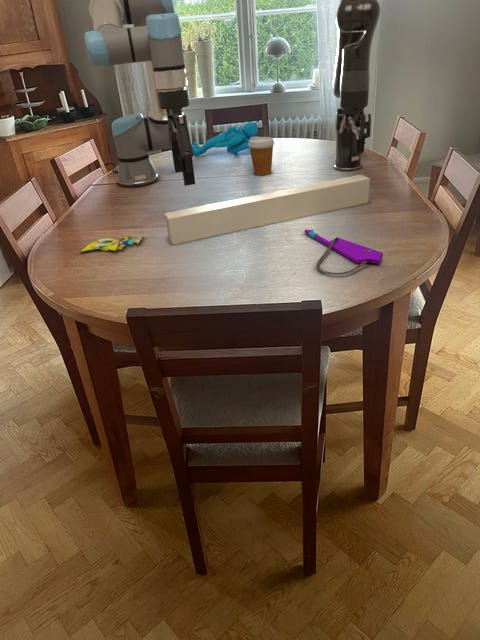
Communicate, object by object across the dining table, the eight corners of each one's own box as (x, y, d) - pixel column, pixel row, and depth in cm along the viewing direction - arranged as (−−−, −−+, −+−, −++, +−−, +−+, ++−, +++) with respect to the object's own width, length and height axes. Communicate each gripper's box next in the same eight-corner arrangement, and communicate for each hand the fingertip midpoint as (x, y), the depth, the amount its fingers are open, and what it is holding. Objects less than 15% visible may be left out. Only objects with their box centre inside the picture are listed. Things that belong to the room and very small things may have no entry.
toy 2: (196, 135, 215) (258, 116, 205) (204, 159, 220) (265, 140, 210) (184, 145, 202) (251, 124, 191) (193, 169, 207) (259, 151, 196)
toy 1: (132, 249, 128) (79, 250, 130) (133, 252, 128) (80, 253, 130) (143, 234, 136) (94, 235, 138) (144, 236, 137) (94, 237, 139)
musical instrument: (365, 286, 105) (394, 240, 117) (364, 278, 104) (394, 233, 116) (270, 272, 118) (305, 232, 130) (268, 265, 117) (304, 225, 129)
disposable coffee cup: (246, 176, 178) (244, 142, 172) (255, 168, 186) (253, 136, 179) (270, 177, 175) (269, 143, 168) (278, 169, 182) (277, 136, 176)
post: (172, 244, 131) (168, 218, 127) (168, 238, 135) (164, 213, 131) (368, 202, 146) (370, 178, 142) (359, 198, 150) (360, 174, 146)
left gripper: (198, 93, 106) (209, 188, 117) (178, 83, 126) (189, 164, 138) (165, 97, 104) (179, 193, 116) (150, 86, 125) (163, 169, 136)
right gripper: (381, 88, 124) (377, 153, 133) (352, 83, 136) (350, 143, 144) (356, 92, 122) (353, 157, 131) (329, 87, 134) (327, 147, 143)
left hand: (184, 178), depth 127 cm, fingers open, 13 cm apart
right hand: (351, 149), depth 138 cm, fingers open, 8 cm apart
